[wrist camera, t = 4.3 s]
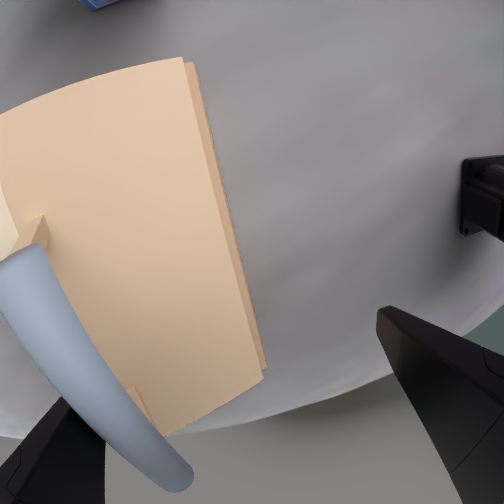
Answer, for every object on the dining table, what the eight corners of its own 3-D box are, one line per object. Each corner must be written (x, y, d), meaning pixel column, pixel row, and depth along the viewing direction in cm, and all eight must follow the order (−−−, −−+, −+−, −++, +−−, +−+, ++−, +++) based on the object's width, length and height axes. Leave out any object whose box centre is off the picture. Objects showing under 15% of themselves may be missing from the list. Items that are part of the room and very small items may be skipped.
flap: (178, 59, 11) (274, -1, 5) (259, 374, 19) (328, 436, 14) (-36, 137, 7) (-120, 126, 1) (135, 444, 15) (181, 529, 10)
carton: (197, 73, 14) (193, 61, 11) (258, 329, 23) (267, 368, 19) (43, 129, 14) (8, 137, 11) (136, 353, 22) (127, 390, 19)
